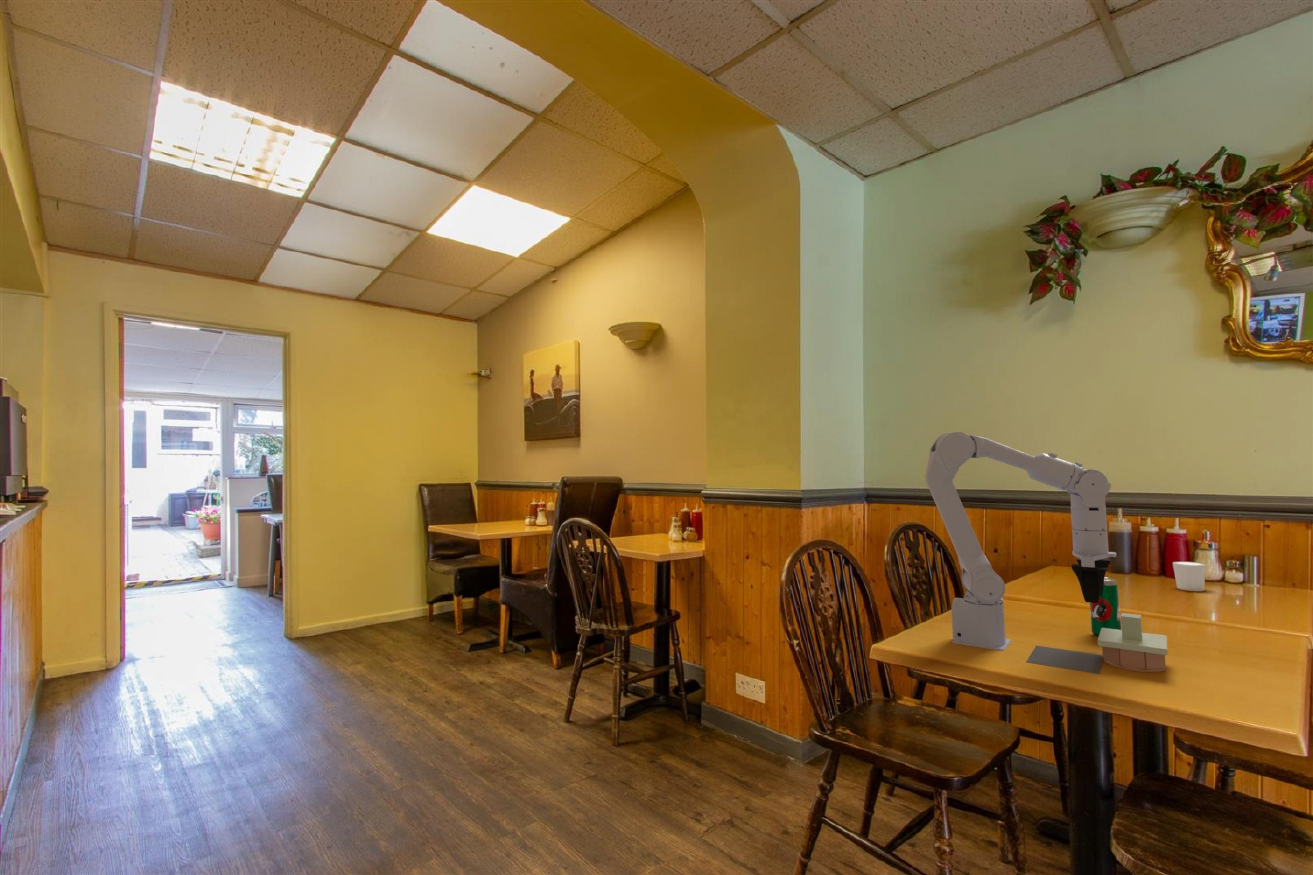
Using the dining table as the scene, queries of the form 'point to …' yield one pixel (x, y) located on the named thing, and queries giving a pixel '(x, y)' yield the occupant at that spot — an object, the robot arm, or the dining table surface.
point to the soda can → (1106, 608)
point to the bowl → (1134, 660)
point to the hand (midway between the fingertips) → (1093, 598)
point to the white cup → (1189, 575)
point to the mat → (1066, 659)
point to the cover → (1132, 637)
